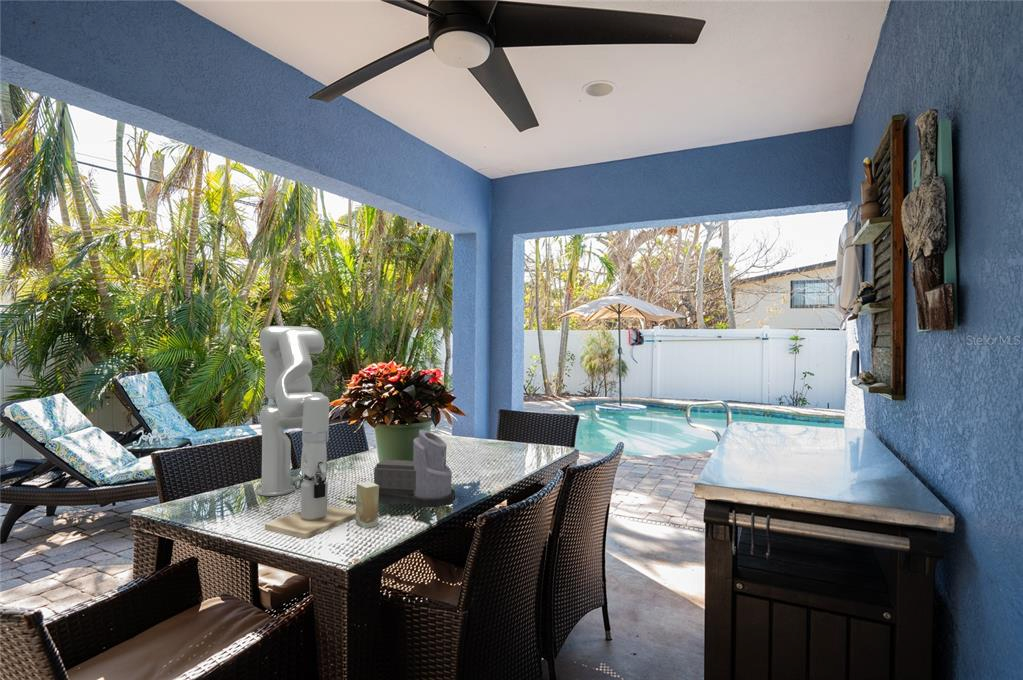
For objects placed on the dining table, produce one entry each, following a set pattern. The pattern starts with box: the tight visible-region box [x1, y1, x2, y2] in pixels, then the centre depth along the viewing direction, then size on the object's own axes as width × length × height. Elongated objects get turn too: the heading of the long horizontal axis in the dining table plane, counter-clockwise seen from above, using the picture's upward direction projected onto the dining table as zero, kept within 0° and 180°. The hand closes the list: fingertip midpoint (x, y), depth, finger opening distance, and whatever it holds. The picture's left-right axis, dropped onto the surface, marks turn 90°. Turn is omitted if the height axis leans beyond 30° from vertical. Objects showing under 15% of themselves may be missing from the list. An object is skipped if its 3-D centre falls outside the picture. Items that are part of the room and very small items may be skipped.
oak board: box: [264, 504, 356, 540], centre depth 163 cm, size 22×16×2 cm
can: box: [300, 476, 329, 521], centre depth 163 cm, size 8×8×12 cm
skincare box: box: [355, 480, 379, 529], centre depth 162 cm, size 6×4×12 cm
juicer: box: [373, 429, 456, 508], centre depth 188 cm, size 30×16×24 cm, turn 82°
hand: (313, 493), depth 163 cm, fingers open, 9 cm apart
